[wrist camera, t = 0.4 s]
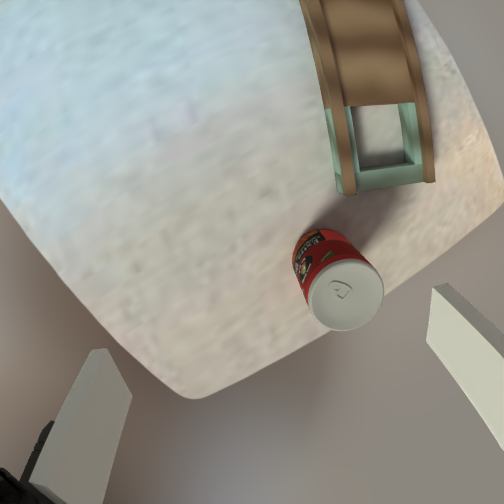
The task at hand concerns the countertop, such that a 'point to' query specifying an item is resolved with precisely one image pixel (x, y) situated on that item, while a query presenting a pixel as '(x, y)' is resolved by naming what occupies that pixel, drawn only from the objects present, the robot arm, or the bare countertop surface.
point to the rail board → (369, 86)
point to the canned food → (336, 280)
